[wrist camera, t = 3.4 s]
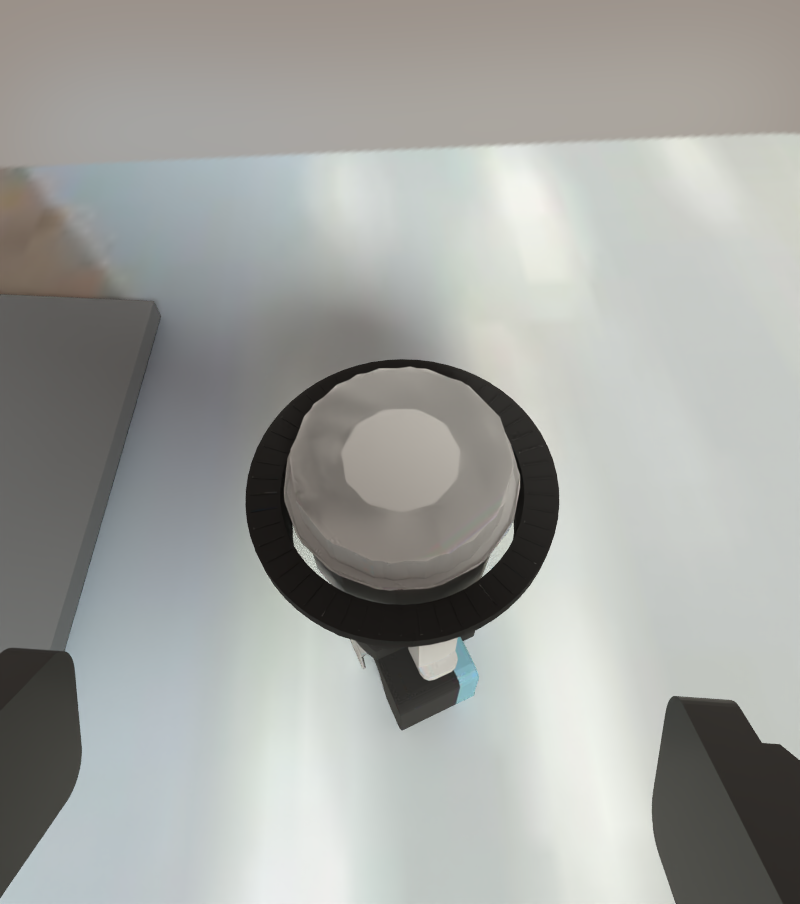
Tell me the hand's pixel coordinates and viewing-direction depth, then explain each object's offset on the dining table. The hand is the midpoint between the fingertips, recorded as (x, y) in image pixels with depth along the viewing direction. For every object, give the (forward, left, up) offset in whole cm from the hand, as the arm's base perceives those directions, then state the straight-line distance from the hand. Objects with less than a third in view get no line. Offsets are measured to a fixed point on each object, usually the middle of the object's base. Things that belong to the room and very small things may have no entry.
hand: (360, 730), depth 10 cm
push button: (0, +5, -10) cm, 11 cm away
